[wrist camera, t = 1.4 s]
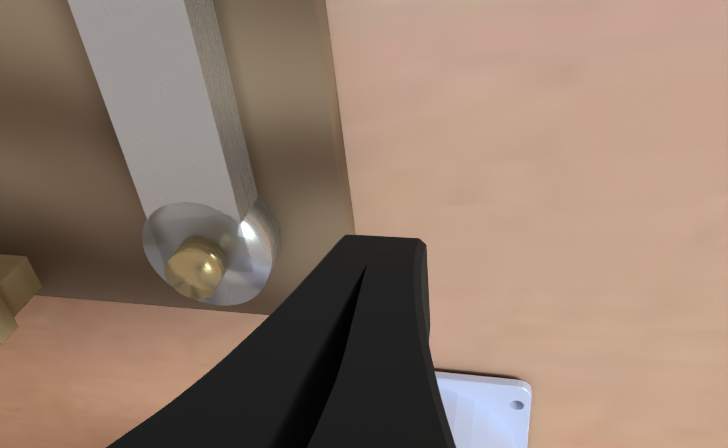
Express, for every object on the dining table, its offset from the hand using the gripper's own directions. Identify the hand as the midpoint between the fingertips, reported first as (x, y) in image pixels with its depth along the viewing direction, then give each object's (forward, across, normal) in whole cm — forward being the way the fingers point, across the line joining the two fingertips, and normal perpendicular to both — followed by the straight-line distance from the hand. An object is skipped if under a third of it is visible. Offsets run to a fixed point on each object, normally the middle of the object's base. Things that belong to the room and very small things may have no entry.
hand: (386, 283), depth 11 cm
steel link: (+7, +7, 0) cm, 10 cm away
